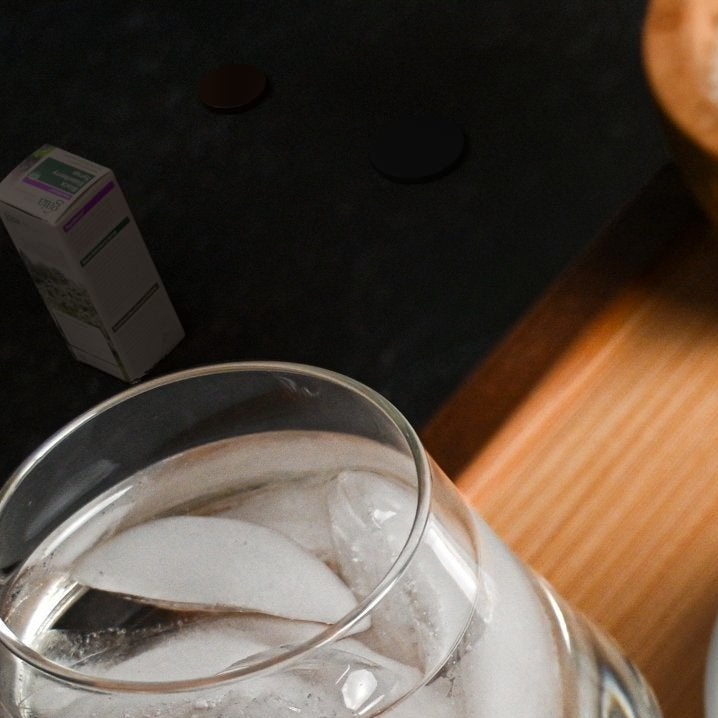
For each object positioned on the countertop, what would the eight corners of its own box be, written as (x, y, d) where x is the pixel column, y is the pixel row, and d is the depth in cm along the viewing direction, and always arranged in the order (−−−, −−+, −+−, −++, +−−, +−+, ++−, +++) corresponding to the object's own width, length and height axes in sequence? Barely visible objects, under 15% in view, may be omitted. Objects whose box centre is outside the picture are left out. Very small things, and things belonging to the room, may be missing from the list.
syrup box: (189, 335, 132) (116, 163, 120) (133, 391, 130) (52, 221, 118) (126, 308, 134) (48, 136, 122) (69, 362, 132) (-17, 192, 119)
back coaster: (211, 122, 144) (208, 115, 144) (191, 83, 147) (188, 76, 147) (277, 100, 145) (274, 93, 145) (256, 61, 148) (254, 54, 148)
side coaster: (389, 196, 139) (387, 189, 139) (357, 140, 143) (355, 133, 142) (479, 164, 141) (478, 157, 140) (446, 109, 144) (444, 102, 143)
